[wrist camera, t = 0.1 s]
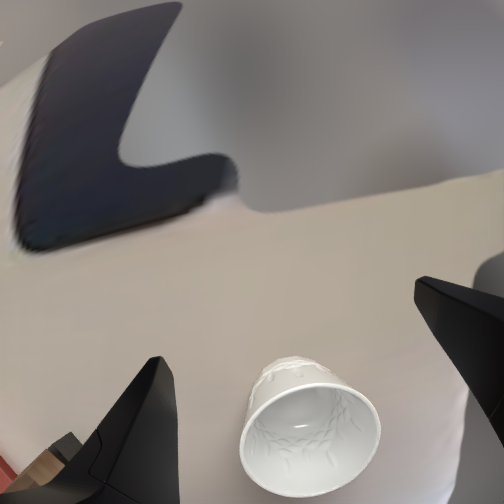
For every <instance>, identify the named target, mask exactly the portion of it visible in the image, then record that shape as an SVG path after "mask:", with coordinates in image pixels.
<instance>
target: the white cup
mask: <svg viewBox="0 0 504 504" xmlns="http://www.w3.org/2000/svg"><path fill="white" fill-rule="evenodd" d="M380 435H381V426H380V420H379V416H378V414H377V411H376V409H375V408H374V406H373V405H372V403H371V402H370V401H369V400H368V399H367V398H366V397H365V396H364V395H362V394H361V393H360V392H358V391H357V390H355V389H354V388H353V387H351V386H350V385H349V384H348V383H346V382H345V381H344V380H342V379H341V378H340V377H339V376H337V375H336V374H334V373H333V372H331V371H330V370H328V369H327V368H325V367H323V366H321V365H319V364H318V363H317V362H315V361H314V360H312V359H308V358H304V357H300V356H291V357H286V358H280V359H277V360H276V361H274V362H273V363H271V364H270V365H268V366H267V367H265V368H263V369H262V371H261V373H260V374H259V376H258V378H257V379H256V381H255V382H254V384H253V390H252V392H251V395H250V398H249V402H248V405H247V410H246V415H245V420H244V425H243V430H242V434H241V439H240V445H239V453H240V459H241V463H242V465H243V468H244V469H245V471H246V473H247V474H248V476H249V477H250V478H251V479H252V480H253V481H254V482H255V483H256V484H257V485H259V486H260V487H262V488H263V489H265V490H267V491H269V492H271V493H274V494H277V495H281V496H285V497H293V498H306V497H314V496H319V495H323V494H327V493H329V492H332V491H335V490H337V489H339V488H341V487H343V486H344V485H346V484H348V483H349V482H351V481H352V480H353V479H355V478H356V477H357V476H358V475H359V474H360V473H361V472H362V471H363V470H364V469H365V468H366V467H367V466H368V464H369V463H370V462H371V460H372V458H373V457H374V455H375V453H376V450H377V448H378V445H379V441H380Z"/></svg>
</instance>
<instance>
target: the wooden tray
mask: <svg viewBox="0 0 504 504" xmlns="http://www.w3.org/2000/svg"><path fill="white" fill-rule="evenodd" d="M64 466H65V465H64V464H63V463H62V462H60V461H59V460H58V459H57V458H56V457H55V456H54V455H53V454H52V453H51V452H49V451H48V450H47V449H46V450H44V451H43V452H42V453H41V454H40V455H39V456H38V457H37V458H36V459H35V460H34V461H33V462H32V463H31V464H30V465H29V466H28V467H27V468H26V469H25V470H24V471H23V472H22V473H21V474H19V475H18V476H17V477H16V478H15V479H14V480H13V481H12V482H11V483H10V484H9V486H8V487H7V488H6V489H5V491H4V492H3V493H8V492H14V491H19V490H25V489H30V488H34V487H39V486H42V485H44V484H46V483H48V482H49V481H51V480H52V479H53V478H54V477H55V476H56V475H57V474H58V473H59V472H60V471H61V469H62V468H63V467H64Z"/></svg>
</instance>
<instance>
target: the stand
mask: <svg viewBox="0 0 504 504" xmlns="http://www.w3.org/2000/svg"><path fill="white" fill-rule="evenodd" d="M82 446H83V445H82V444H81V443H80V442H79V441H78V439H77V438H76V437H75V436H74V435H73V434H72V433H71V432H69V433H68V434H66V435H65V436H64V437H62V438H61V439H59V440H58V441H56V442H55V443H53V444H52V445H51V446H50V447H49V448H48V449H47V450H48V451H49V452H51V453H52V454H53V455H54V456H55V457H56V458H57V459H58V460H59V461H60V462H62V463H63V464H64V465H66V464H67V463H68V462H69V461H70V460H71V459H72V457H73V456H74V455H75V454H76V453H77V452H78V451H79V449H80V448H81V447H82Z"/></svg>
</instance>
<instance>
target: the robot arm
mask: <svg viewBox="0 0 504 504" xmlns="http://www.w3.org/2000/svg"><path fill="white" fill-rule="evenodd" d="M414 302H415V304H416V306H417V308H418V309H419V311H420V313H421V315H422V316H423V318H424V320H425V321H426V323H427V325H428V327H429V328H430V330H431V332H432V333H433V335H434V336H435V338H436V339H437V341H438V342H439V344H440V345H441V346H442V348H443V349H444V351H445V352H446V354H447V355H448V357H449V358H450V359H451V361H452V362H453V364H454V365H455V367H456V368H457V370H458V371H459V373H460V374H461V376H462V377H463V379H464V380H465V382H466V384H467V385H468V387H469V388H470V390H471V391H472V393H473V395H474V396H475V398H476V399H477V401H478V403H479V404H480V406H481V407H482V409H483V411H484V413H485V414H486V416H487V418H488V419H489V422H490V423H491V425H492V427H493V428H494V430H495V432H496V434H497V436H498V438H499V440H500V441H501V443H502V445H503V447H504V298H503V297H499V296H496V295H492V294H489V293H486V292H482V291H479V290H475V289H472V288H468V287H464V286H461V285H457V284H454V283H450V282H447V281H443V280H439V279H436V278H432V277H428V276H423V277H421V278H418V279H417V280H416V281H415V290H414ZM0 504H180V499H179V477H178V419H177V407H176V398H175V388H174V378H173V374H172V372H171V370H170V368H169V367H168V365H167V363H166V362H165V360H164V358H163V357H161V356H157V357H152V358H150V359H149V360H148V361H147V362H146V364H145V365H144V366H143V368H142V369H141V370H140V371H139V373H138V374H137V375H136V377H135V378H134V379H133V380H132V382H131V383H130V384H129V386H128V387H127V388H126V390H125V391H124V392H123V394H122V395H121V396H120V397H119V399H118V400H117V401H116V403H115V404H114V405H113V407H112V408H111V409H110V411H109V412H108V413H107V415H106V416H105V417H104V419H103V420H102V421H101V423H100V424H99V425H98V427H97V429H95V430H94V432H93V433H92V434H91V436H90V437H89V438H88V440H87V441H86V442H85V443H84V445H83V446H82V447H81V448H80V449H79V451H78V452H77V453H76V454H75V455H74V456H73V457H72V459H71V460H70V461H69V462H68V463H67V464H66V465H65V466H64V467H63V468H62V469H61V471H60V472H59V473H58V474H57V475H56V476H55V477H54V478H53V479H52V480H51V481H49V482H48V483H46V484H44V485H42V486H39V487H34V488H30V489H25V490H19V491H14V492H8V493H1V494H0ZM501 504H504V502H502V503H501Z"/></svg>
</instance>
